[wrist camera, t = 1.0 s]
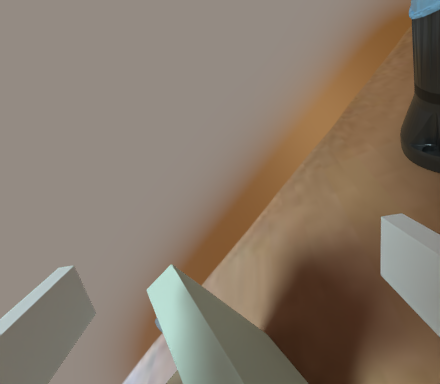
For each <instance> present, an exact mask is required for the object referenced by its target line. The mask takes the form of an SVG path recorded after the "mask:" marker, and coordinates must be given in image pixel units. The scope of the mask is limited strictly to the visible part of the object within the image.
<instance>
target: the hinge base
mask: <svg viewBox="0 0 440 384" xmlns="http://www.w3.org/2000/svg"><path fill="white" fill-rule="evenodd" d="M166 384H183V382H182V380H181V377H180V375H179V372H178V370H177V371H176V372H175V374H174V375H173V376H172V377H171V378H170V379H169V380H168V382H167V383H166Z"/></svg>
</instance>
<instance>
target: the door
mask: <svg viewBox="0 0 440 384" xmlns="http://www.w3.org/2000/svg"><path fill="white" fill-rule="evenodd" d="M147 292H148V295H149V298H150V300H151V303H152V305H153V308H154V310H155V313H156V316H157V319H156V320H155V323H156V325H157V327H158V328H159V330H160V331H161V332H162V333H163V334H164V336H165V339H166V341H167V344H168V346H169V349H170V352H171V354H172V357H173V359H174V362H175V364H176V367H177V370H178V372H179V375H180V377H181V380H182V382H183V384H308V382H307V381H306V380H305V379H304V378H303V376H302V375H301V374H300V373H299V372H298V370H297V369H296V368H295V367H294V366H293V365H292V363H291V362H290V361H289V360H288V359H287V357H286V356H285V355H284V354H283V353H282V351H281V350H280V349H279V348H278V347H277V345H276V344H275V343H274V342H273V341H272V340H271V338H270V337H269V336H268V335H267V334H266V333H265V332H263V331H262V330H261V329H259V328H258V327H256V326H255V325H254V324H252V323H251V322H250V321H248V320H247V319H246V318H244V317H243V316H241V315H240V314H239V313H237V312H236V311H235V310H233V309H232V308H231V307H229V306H228V305H226V304H225V303H224V302H222V301H221V300H220V299H218V298H217V297H216V296H214V295H213V294H212V293H210V292H209V291H207V290H206V289H205V288H203V287H202V286H201V285H199V284H198V283H197V282H195V281H194V280H192V279H191V278H190V277H188V276H187V275H186V274H184V273H183V272H182V271H180V270H179V269H177V268H176V267H175V266H173V265H172V264H171V265H170V266H169V267H168V268H167V269H166V270H165V271H164V272H163V273H162V274H161V275H160V276H159V278H158V279H157V280H156V281H155V282H154V283H153V284H152V285H151V286H150V287H149V288H148V289H147Z"/></svg>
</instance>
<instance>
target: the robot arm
mask: <svg viewBox="0 0 440 384" xmlns="http://www.w3.org/2000/svg"><path fill="white" fill-rule="evenodd" d="M409 17H411V19H412V36H413V59H414V86H415V94H414V97H413V99H412V102H411V104H410V107H409V109H408V112H407V114H406V117H405V120H404V122H403V125H402V127H401V134H400V135H401V146H402V150H403V152H404V154H405V155H406V156H407V157H408V158H409V159H410V160H411V161H412V162H414V163H415V164H417V165H419V166H421V167H423V168H426V169H429V170H432V171H435V172H439V173H440V0H411V7H410V9H409ZM381 276H382V277H383V278H384V279H385V280H386V281H387V282H388V283H389V284H390V285H391V286H392V288H393V289H394V290H395V291H396V292H397V293H398V294H399V295H400V296H401V297H402V298H403V299H404V300H405V301H406V302H407V303H408V304H409V305H410V306H411V307H412V309H413V310H414V311H415V312H416V313H417V314H418V315H419V316H420V317H421V318H422V319H423V320H424V321H425V322H426V323H427V324H428V325H429V326H430V327H431V328H432V330H433V331H434V332H435V333H436V334H437V335H438V336H439V337H440V235H439V234H438V233H436V232H434V231H432V230H431V229H429V228H427V227H425V226H423V225H422V224H420V223H418V222H416V221H415V220H413V219H411V218H409V217H407V216H406V215H404V214H402V213H401V214H395V215H388V216H382V217H381ZM95 314H96V312H95V310H94V308H93V305H92V303H91V301H90V299H89V297H88V295H87V292H86V290H85V288H84V286H83V284H82V281H81V279H80V277H79V275H78V273H77V271H76V268H75V267H74V266H68V267H61V268H58V269H57V270H56V271H55V272H53V274H51V275H50V276H49V277H48V278H47V279H46V280H44V281H43V282H42V283H41V284H40V285H39V286H38V287H36V288H35V289H34V290H33V291H32V292H31V293H30V294H29V295H27V296H26V297H25V298H24V299H23V300H22V301H21V302H19V303H18V304H17V305H16V306H15V307H14V308H12V309H11V310H10V311H9V312H8V313H7V314H6V315H4V316H3V317H2V318H1V319H0V384H48V383H49V382H50V380H51V379H52V377H53V376H54V374H55V373H56V371H57V370H58V368H59V367H60V365H61V364H62V363H63V361H64V360H65V358H66V357H67V355H68V354H69V352H70V351H71V349H72V348H73V346H74V345H75V343H76V342H77V341H78V339H79V337H80V336H81V335H82V333H83V332H84V330H85V329H86V327H87V326H88V324H89V323H90V322H91V320H92V319H93V317H94V316H95Z"/></svg>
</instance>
